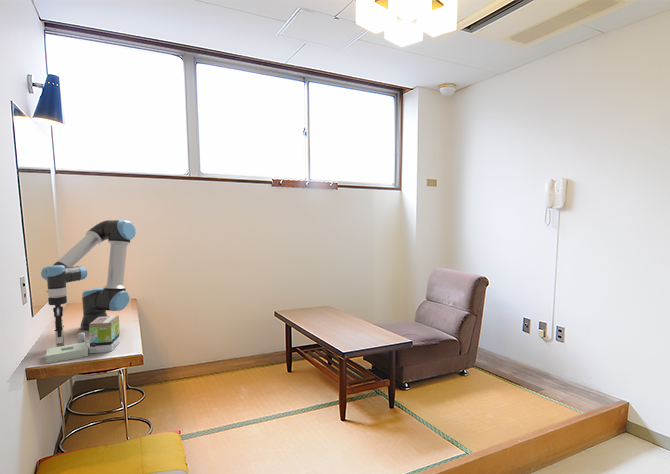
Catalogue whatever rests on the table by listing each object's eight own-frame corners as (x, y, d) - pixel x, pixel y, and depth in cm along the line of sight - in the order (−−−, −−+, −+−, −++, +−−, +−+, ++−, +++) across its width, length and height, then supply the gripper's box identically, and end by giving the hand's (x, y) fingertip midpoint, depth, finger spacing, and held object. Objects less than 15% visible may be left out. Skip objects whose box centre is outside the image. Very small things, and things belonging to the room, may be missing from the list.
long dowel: (64, 346, 196) (62, 319, 195) (64, 348, 193) (62, 320, 192) (56, 347, 194) (55, 320, 193) (56, 349, 191) (54, 321, 190)
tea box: (112, 351, 187) (111, 322, 186) (89, 354, 184) (87, 324, 183) (120, 342, 201) (119, 314, 201) (98, 344, 199) (97, 316, 198)
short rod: (85, 345, 197) (84, 332, 196) (85, 347, 194) (85, 333, 194) (78, 346, 195) (77, 333, 194) (78, 348, 192) (77, 334, 192)
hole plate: (87, 348, 192) (86, 341, 191) (88, 355, 182) (87, 348, 182) (47, 355, 182) (46, 348, 182) (46, 363, 173) (45, 356, 172)
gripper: (48, 294, 196) (51, 339, 198) (47, 300, 183) (50, 347, 184) (66, 292, 201) (68, 336, 202) (66, 297, 187) (69, 344, 189)
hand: (59, 341), depth 193 cm, fingers closed on long dowel, 3 cm apart
